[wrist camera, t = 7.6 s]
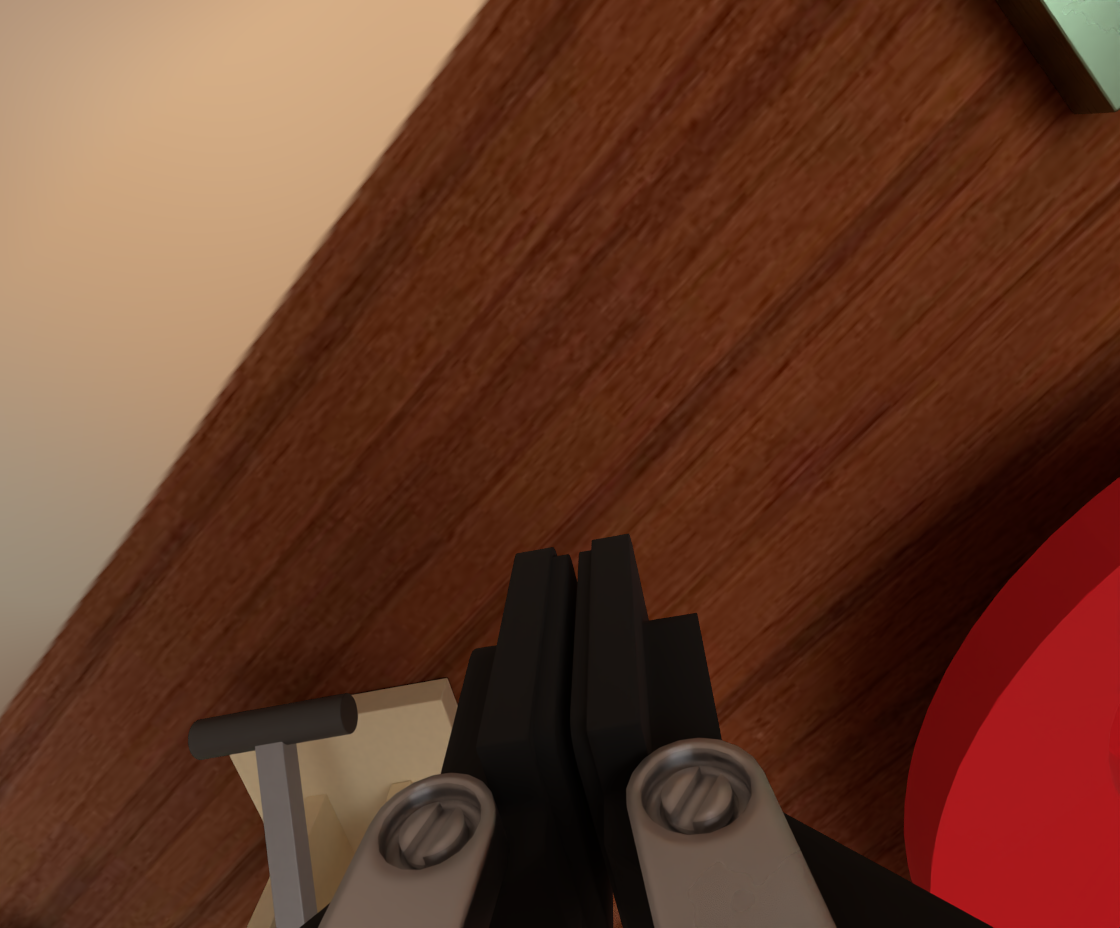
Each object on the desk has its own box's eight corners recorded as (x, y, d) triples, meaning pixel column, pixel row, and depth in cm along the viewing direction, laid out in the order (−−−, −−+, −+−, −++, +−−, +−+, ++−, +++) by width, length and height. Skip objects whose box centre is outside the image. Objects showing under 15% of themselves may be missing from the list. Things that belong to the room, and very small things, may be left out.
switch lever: (216, 714, 31) (177, 725, 28) (360, 688, 30) (332, 698, 28) (254, 1054, 29) (214, 1097, 26) (409, 1036, 28) (382, 1079, 26)
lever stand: (235, 715, 35) (69, 972, 24) (447, 676, 34) (373, 932, 23) (328, 904, 39) (223, 1196, 29) (521, 877, 38) (488, 1173, 27)
